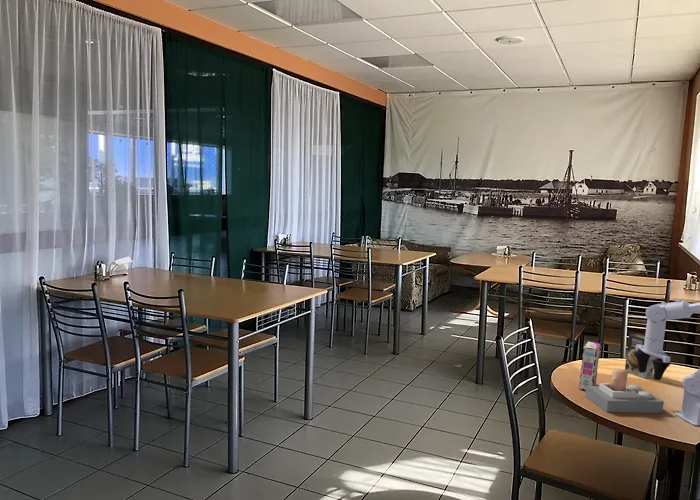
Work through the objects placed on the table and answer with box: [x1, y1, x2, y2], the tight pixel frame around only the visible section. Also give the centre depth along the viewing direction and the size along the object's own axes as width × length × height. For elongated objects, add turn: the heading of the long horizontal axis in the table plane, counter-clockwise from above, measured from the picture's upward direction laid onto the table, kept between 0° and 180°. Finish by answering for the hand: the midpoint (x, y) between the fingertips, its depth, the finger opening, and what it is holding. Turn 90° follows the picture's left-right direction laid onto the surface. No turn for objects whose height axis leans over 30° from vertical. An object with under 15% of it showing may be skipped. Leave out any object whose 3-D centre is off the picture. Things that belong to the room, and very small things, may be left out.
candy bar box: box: [578, 341, 601, 392], centre depth 207 cm, size 11×5×16 cm, turn 149°
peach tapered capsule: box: [610, 367, 629, 391], centre depth 190 cm, size 5×7×8 cm
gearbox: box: [584, 382, 664, 414], centre depth 191 cm, size 14×20×6 cm
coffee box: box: [624, 333, 656, 379], centre depth 226 cm, size 9×6×16 cm
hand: (649, 375), depth 191 cm, fingers open, 7 cm apart
